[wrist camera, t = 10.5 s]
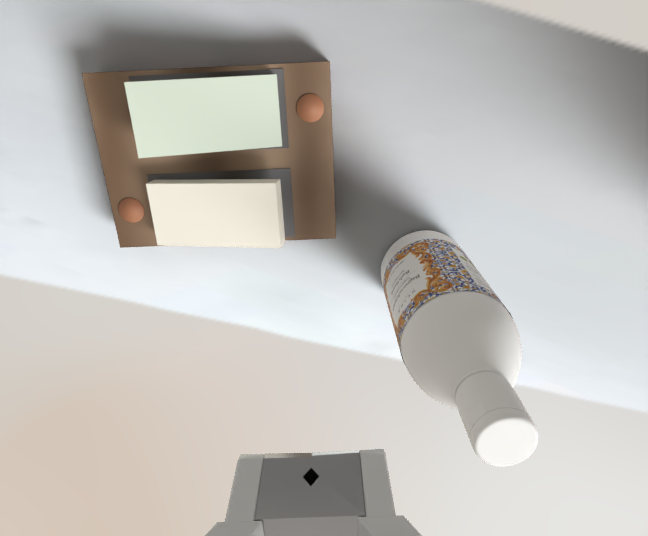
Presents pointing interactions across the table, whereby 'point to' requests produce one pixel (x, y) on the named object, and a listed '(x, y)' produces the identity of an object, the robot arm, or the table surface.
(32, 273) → the table surface
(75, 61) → the table surface
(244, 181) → the block
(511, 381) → the bath foam
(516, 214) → the table surface
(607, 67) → the table surface
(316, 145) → the switch plate
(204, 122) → the block
